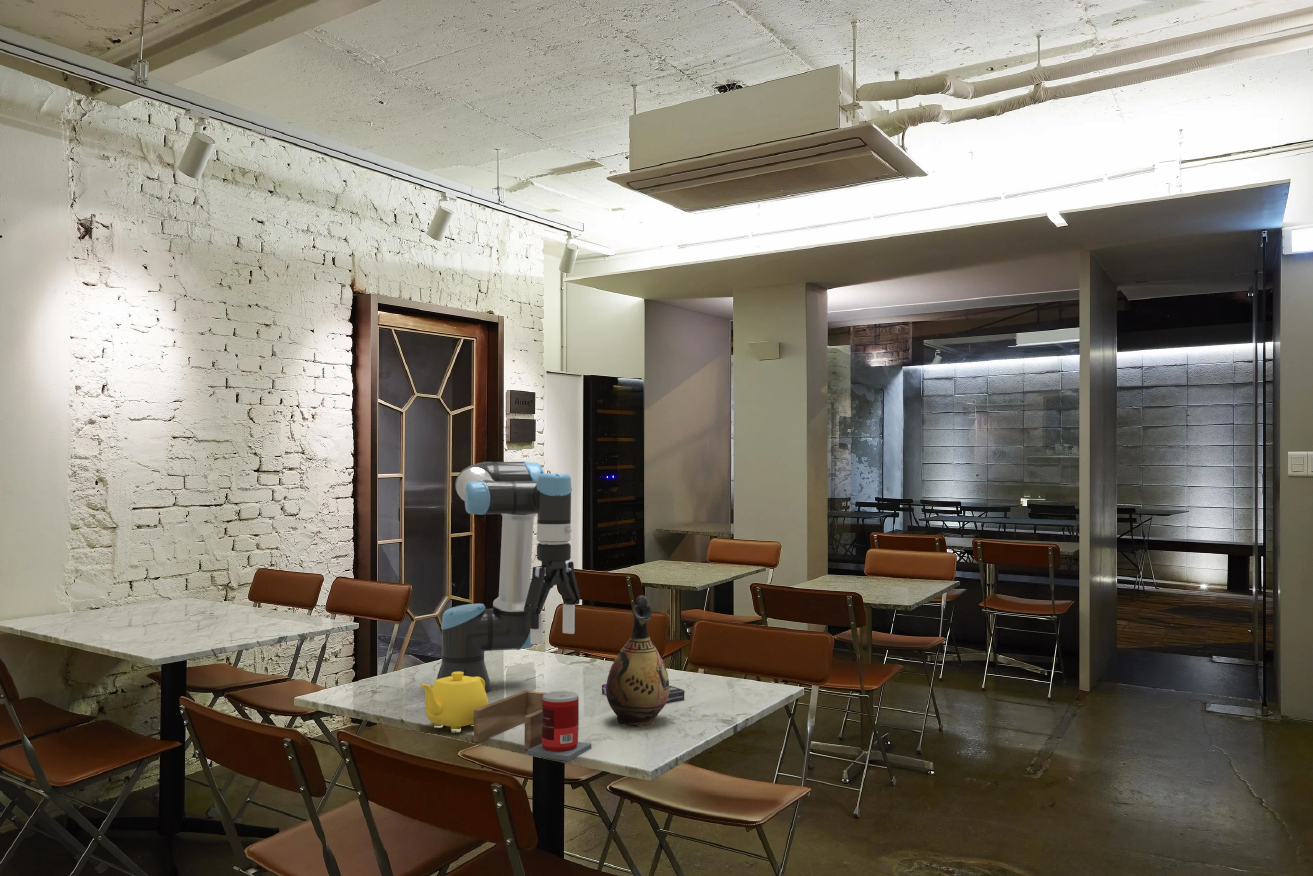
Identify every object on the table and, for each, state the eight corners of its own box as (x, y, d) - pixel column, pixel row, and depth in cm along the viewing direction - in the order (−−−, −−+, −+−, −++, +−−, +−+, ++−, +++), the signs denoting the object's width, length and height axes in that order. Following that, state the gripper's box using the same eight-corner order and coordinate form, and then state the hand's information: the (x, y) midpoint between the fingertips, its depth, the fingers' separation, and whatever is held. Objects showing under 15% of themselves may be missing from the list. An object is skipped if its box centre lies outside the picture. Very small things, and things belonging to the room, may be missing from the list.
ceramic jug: (672, 729, 215) (672, 600, 217) (606, 730, 214) (607, 601, 215) (666, 711, 232) (665, 592, 233) (605, 712, 231) (605, 592, 232)
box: (601, 697, 251) (642, 710, 235) (601, 684, 251) (642, 696, 235) (643, 689, 259) (685, 701, 243) (642, 677, 259) (685, 688, 244)
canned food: (583, 743, 200) (584, 692, 201) (568, 753, 193) (568, 700, 193) (552, 740, 203) (552, 689, 203) (535, 749, 195) (536, 697, 196)
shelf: (473, 741, 205) (473, 709, 206) (525, 719, 224) (525, 690, 225) (530, 749, 199) (530, 717, 199) (578, 726, 218) (578, 696, 218)
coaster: (527, 755, 195) (527, 750, 195) (552, 742, 204) (552, 738, 204) (568, 761, 191) (568, 756, 191) (591, 748, 200) (591, 743, 200)
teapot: (503, 723, 221) (504, 669, 221) (438, 742, 205) (439, 684, 205) (465, 714, 229) (465, 663, 230) (399, 732, 213) (400, 676, 213)
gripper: (538, 548, 191) (537, 650, 191) (595, 539, 214) (594, 630, 213) (508, 546, 195) (507, 647, 194) (567, 537, 217) (566, 627, 217)
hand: (553, 638), depth 204 cm, fingers open, 13 cm apart
